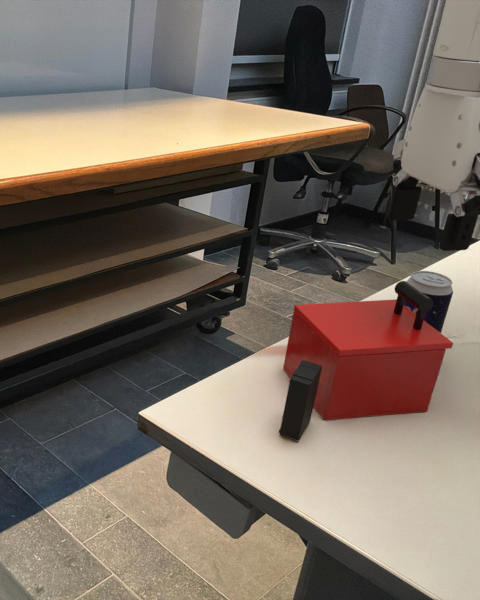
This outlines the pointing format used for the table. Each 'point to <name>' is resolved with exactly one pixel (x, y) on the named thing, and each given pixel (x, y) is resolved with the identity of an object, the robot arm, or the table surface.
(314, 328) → the red box lid
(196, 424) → the table surface
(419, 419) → the table surface
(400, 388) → the red box
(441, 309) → the beverage can
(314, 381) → the ink cartridge
